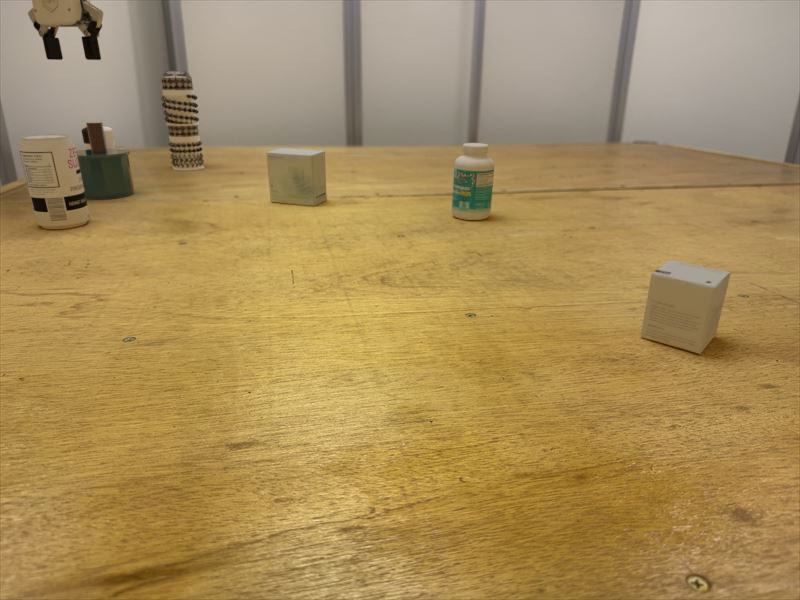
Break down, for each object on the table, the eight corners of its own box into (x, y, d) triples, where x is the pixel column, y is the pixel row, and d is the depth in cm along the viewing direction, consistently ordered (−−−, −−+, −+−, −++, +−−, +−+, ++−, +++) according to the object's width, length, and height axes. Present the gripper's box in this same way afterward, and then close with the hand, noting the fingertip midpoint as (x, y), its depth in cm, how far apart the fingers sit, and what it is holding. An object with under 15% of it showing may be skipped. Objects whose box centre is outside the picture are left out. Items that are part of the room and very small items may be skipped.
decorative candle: (198, 164, 160) (186, 71, 150) (211, 168, 153) (199, 71, 144) (166, 167, 154) (151, 71, 145) (178, 171, 148) (164, 71, 138)
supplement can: (31, 223, 97) (9, 135, 92) (82, 216, 103) (64, 132, 97) (44, 232, 92) (21, 140, 86) (97, 224, 97) (79, 136, 92)
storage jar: (75, 200, 115) (66, 158, 111) (87, 190, 124) (79, 152, 121) (129, 198, 117) (122, 157, 114) (137, 188, 126) (131, 151, 123)
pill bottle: (444, 214, 108) (447, 142, 102) (475, 210, 111) (480, 141, 106) (465, 223, 101) (470, 147, 96) (498, 219, 105) (504, 145, 99)
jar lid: (63, 162, 111) (55, 125, 108) (78, 154, 121) (71, 120, 118) (124, 160, 114) (118, 124, 111) (134, 153, 124) (128, 119, 121)
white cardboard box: (716, 336, 59) (733, 271, 56) (699, 356, 55) (717, 286, 52) (657, 320, 62) (670, 258, 60) (637, 337, 58) (651, 271, 55)
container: (81, 184, 130) (69, 127, 125) (105, 179, 137) (94, 124, 132) (109, 186, 128) (98, 128, 123) (132, 180, 135) (122, 125, 130)
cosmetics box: (269, 202, 115) (265, 151, 111) (284, 196, 121) (281, 147, 117) (314, 206, 112) (311, 154, 108) (328, 200, 118) (326, 150, 114)
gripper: (-1, -44, 100) (23, 59, 107) (73, -49, 95) (93, 59, 102) (36, -36, 107) (57, 59, 114) (107, -41, 102) (124, 60, 109)
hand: (74, 59), depth 108 cm, fingers open, 9 cm apart
